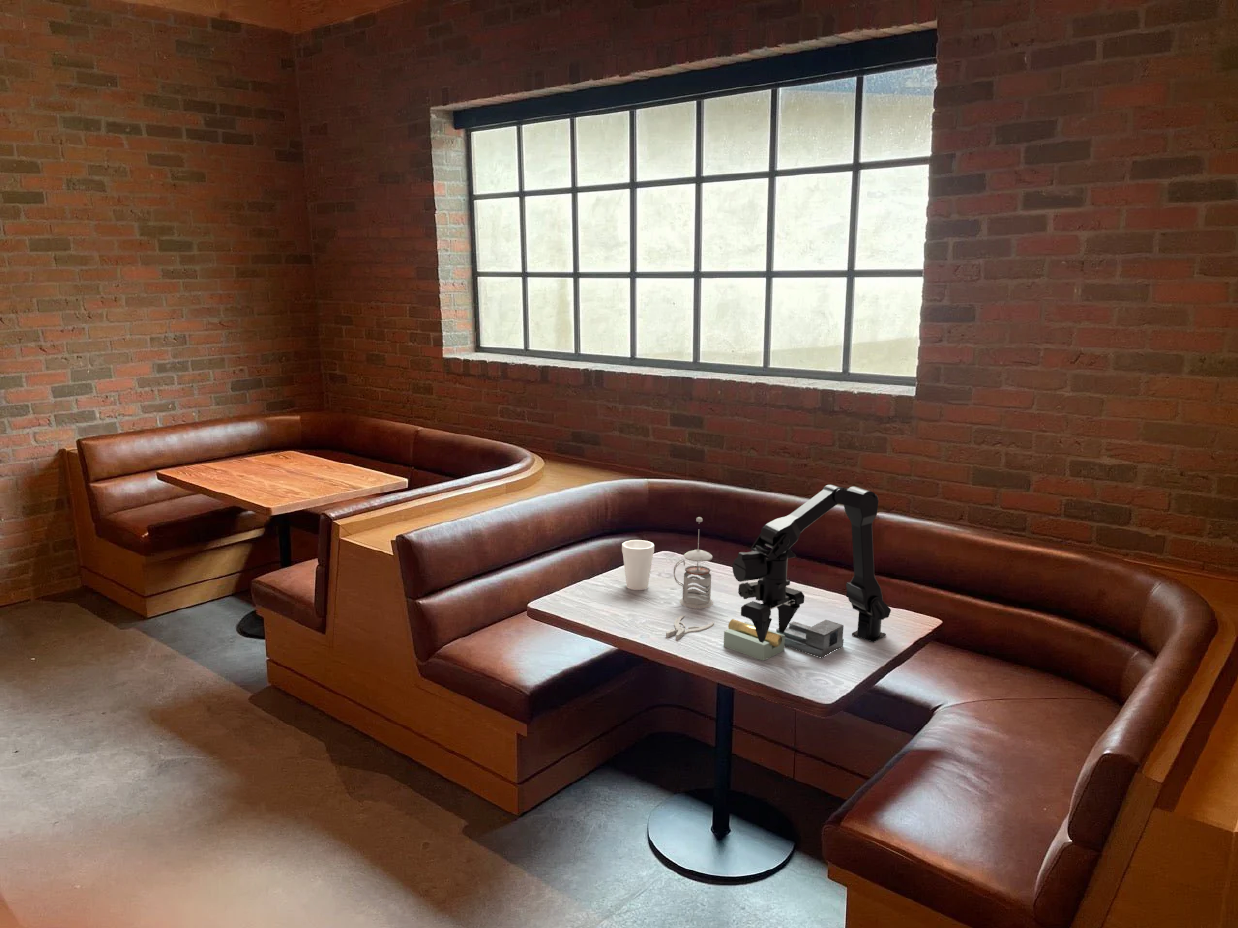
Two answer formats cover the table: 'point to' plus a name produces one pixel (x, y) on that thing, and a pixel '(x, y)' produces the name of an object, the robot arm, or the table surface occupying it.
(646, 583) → the foam cup
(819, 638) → the grey slotted block
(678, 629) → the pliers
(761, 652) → the v block
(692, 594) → the french press
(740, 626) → the axle
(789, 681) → the table surface
